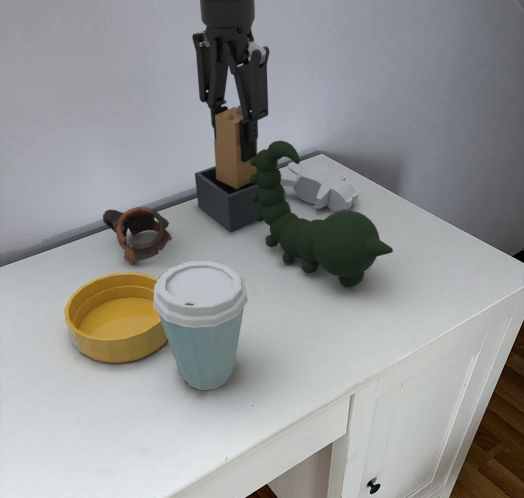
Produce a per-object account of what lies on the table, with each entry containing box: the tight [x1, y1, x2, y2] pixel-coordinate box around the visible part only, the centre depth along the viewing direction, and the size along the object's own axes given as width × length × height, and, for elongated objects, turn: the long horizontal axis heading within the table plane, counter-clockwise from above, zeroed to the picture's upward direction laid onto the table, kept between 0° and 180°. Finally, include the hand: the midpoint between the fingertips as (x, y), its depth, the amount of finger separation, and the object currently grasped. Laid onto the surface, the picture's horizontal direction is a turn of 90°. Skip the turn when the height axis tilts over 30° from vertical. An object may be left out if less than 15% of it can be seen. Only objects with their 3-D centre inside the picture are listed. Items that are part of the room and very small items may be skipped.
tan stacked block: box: [213, 104, 258, 189], centre depth 92 cm, size 5×5×12 cm
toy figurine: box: [250, 140, 394, 289], centre depth 82 cm, size 9×19×25 cm
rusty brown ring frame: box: [102, 206, 173, 265], centre depth 91 cm, size 12×10×8 cm
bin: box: [194, 165, 262, 233], centre depth 98 cm, size 10×10×7 cm
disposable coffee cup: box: [153, 260, 249, 391], centre depth 67 cm, size 11×11×15 cm
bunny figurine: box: [280, 161, 360, 213], centre depth 101 cm, size 10×5×15 cm
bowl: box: [64, 271, 168, 364], centre depth 77 cm, size 14×14×4 cm
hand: (235, 153), depth 93 cm, fingers closed on tan stacked block, 5 cm apart
